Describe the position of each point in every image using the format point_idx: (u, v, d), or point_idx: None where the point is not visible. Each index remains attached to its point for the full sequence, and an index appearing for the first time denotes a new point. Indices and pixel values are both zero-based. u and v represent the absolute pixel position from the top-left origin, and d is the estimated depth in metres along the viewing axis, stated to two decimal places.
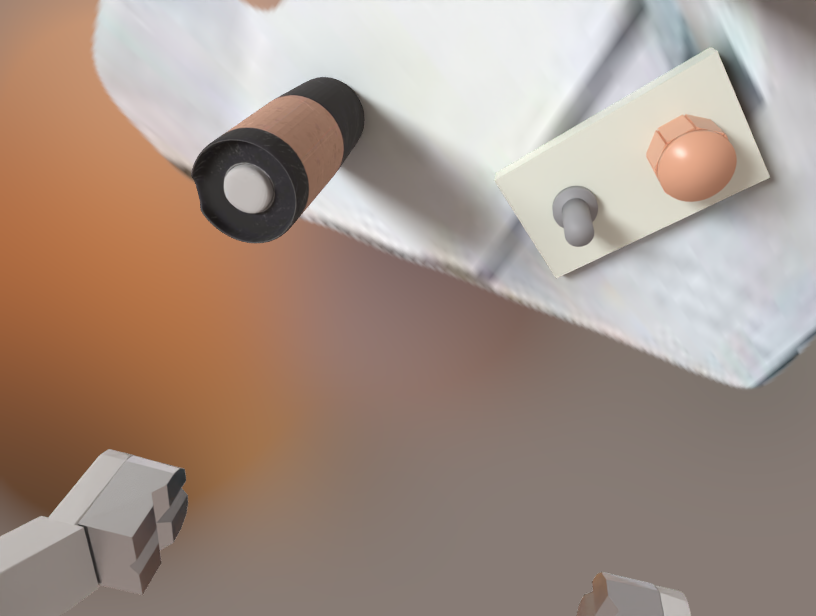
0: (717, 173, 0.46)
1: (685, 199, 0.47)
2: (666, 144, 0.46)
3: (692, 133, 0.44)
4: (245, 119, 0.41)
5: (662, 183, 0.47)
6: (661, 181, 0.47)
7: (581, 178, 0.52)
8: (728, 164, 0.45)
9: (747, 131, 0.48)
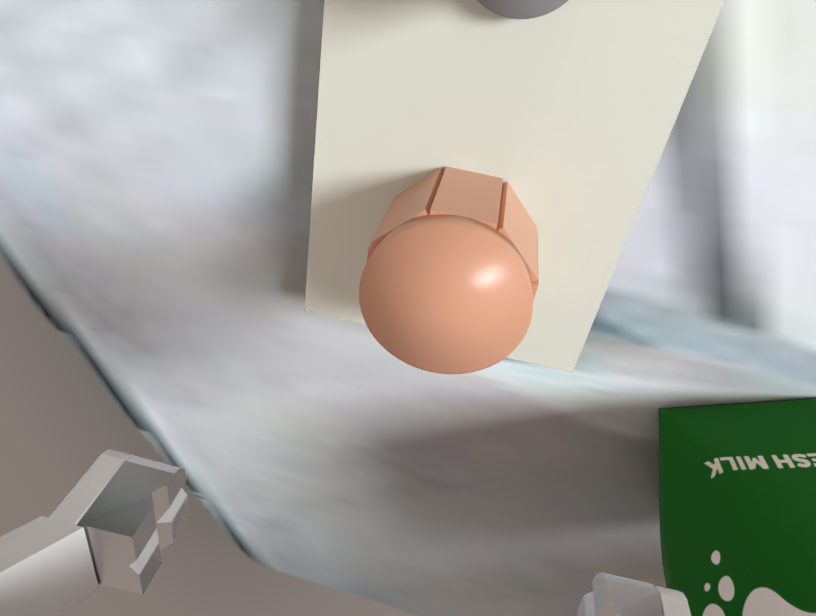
0: (402, 324, 0.19)
1: (389, 245, 0.18)
2: (533, 278, 0.19)
3: None
4: None
5: (465, 232, 0.17)
6: (472, 234, 0.17)
7: (579, 17, 0.18)
8: (406, 348, 0.20)
9: None
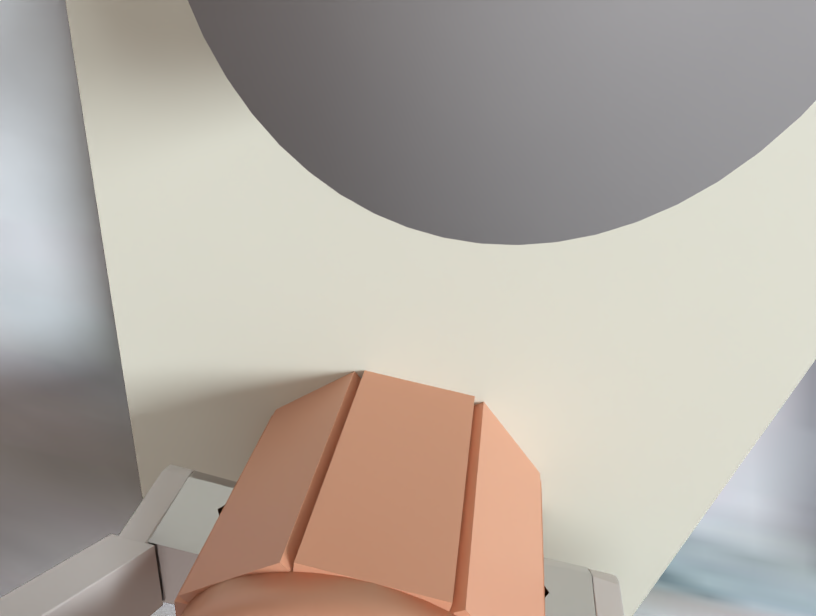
0: None
1: None
2: None
3: None
4: None
5: None
6: None
7: None
8: None
9: None
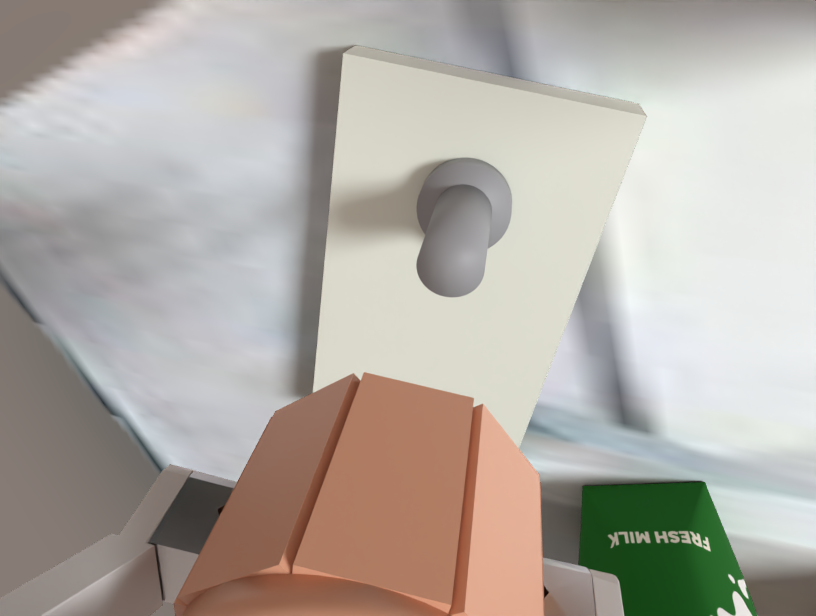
0: None
1: None
2: None
3: None
4: None
5: None
6: None
7: (502, 247, 0.26)
8: None
9: None
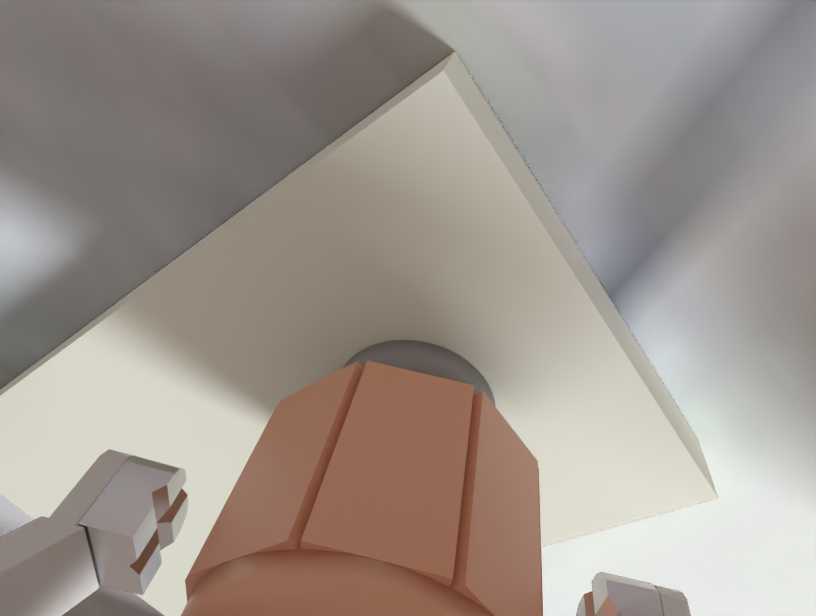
0: None
1: None
2: None
3: None
4: None
5: None
6: None
7: None
8: None
9: None
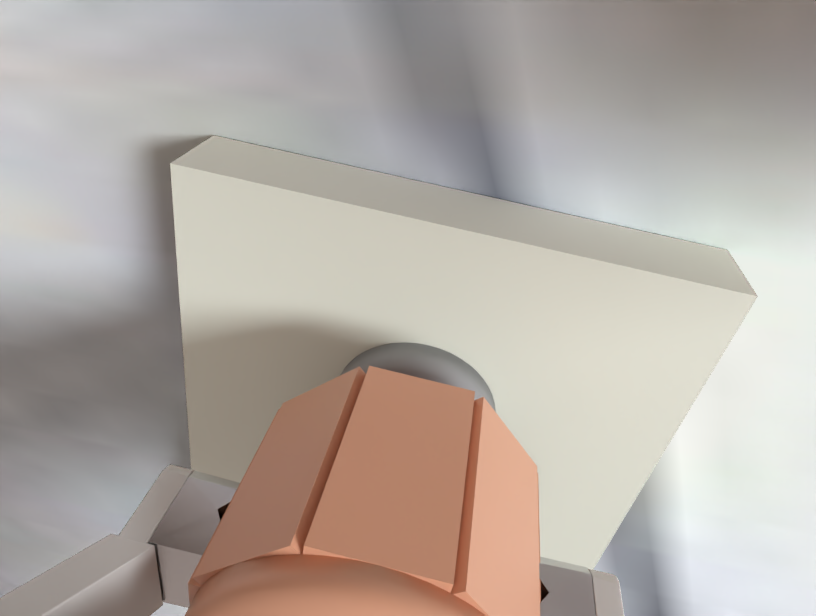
0: None
1: None
2: (450, 581, 0.08)
3: None
4: None
5: None
6: None
7: None
8: None
9: None
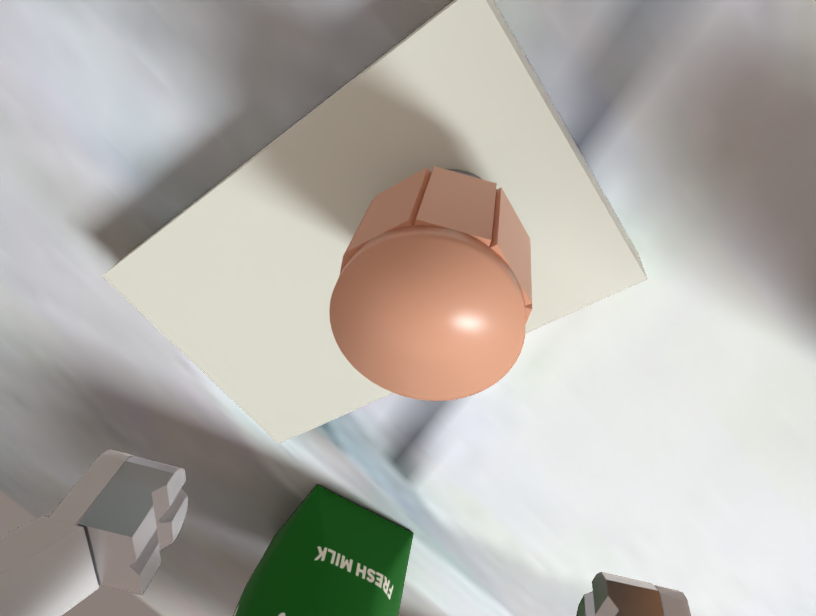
0: (410, 368, 0.17)
1: (334, 308, 0.17)
2: (489, 242, 0.16)
3: (523, 308, 0.16)
4: None
5: (378, 251, 0.15)
6: (384, 248, 0.15)
7: None
8: (433, 387, 0.18)
9: (181, 347, 0.28)
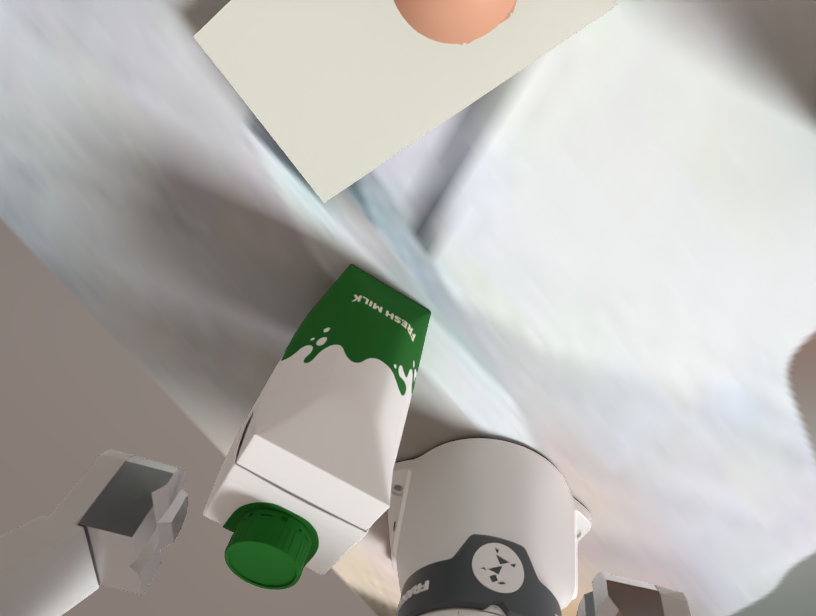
0: (442, 12, 0.24)
1: None
2: None
3: None
4: None
5: None
6: None
7: None
8: (459, 29, 0.25)
9: (251, 105, 0.35)
